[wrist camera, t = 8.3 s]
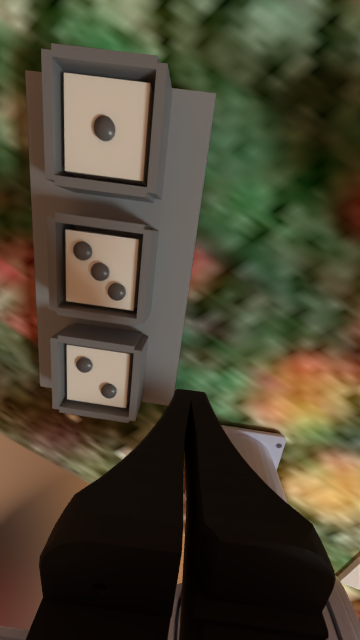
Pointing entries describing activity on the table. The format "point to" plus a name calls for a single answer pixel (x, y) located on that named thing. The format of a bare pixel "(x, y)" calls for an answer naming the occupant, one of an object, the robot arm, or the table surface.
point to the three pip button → (103, 269)
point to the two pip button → (99, 375)
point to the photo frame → (351, 574)
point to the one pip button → (107, 128)
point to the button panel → (116, 226)
